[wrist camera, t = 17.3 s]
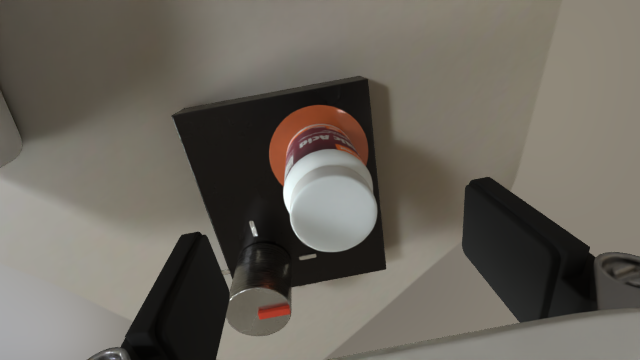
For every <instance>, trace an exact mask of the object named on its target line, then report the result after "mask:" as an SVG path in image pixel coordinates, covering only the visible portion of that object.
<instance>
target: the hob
mask: <svg viewBox="0 0 640 360" xmlns="http://www.w3.org/2000/svg"><path fill="white" fill-rule="evenodd" d="M310 105H329V106H333V107H337V108H339V109H341V110H344V111H345V112H347V113H348V114H350V115H351V116H352V117H353V118H354V119H355V120H356V121H357V122H358V123H359V124H360V126H361V127H362V129H363V131H364V133H365V136H366V139H367V143H368V159H367V164H366V168H367V169H368V171H369V173H370V175H371V178H372V183H373V195H374V197H375V200H376V203H377V219H376V223H375V225H374V227H373V229H372V231H371V232H370V234H369V235H368V236H367V237H366V238H365V239H364V240H363V241H362V242H361V243H359V244H358V245H356V246H354V247H352V248H350V249H347V250H344V251H339V252H324V251H319V250H316V249H313V248H311V247H309V246H307V245H306V244H304V243H303V242H302V241H301V240H300V239H299V238H298V237H297V235H296V234H295V232H294V230H293V228H292V225H291V221H290V213H289V212H288V210H287V208H286V205H285V202H284V197H283V186H282V184H281V183H280V182H279V181H278V180H277V178H276V177H275V175H274V173H273V171H272V168H271V165H270V159H269V149H270V143H271V139H272V136H273V134H274V132H275V130H276V128H277V127H278V125H279V124H280V123H281V122H282V121H283V120H284V119H285V118H286V117H287V116H288V115H290V114H291V113H293V112H294V111H296V110H298V109H300V108H303V107H306V106H310ZM172 119H173V121H174V124H175V127H176V129H177V132H178V135H179V137H180V140H181V143H182V145H183V148H184V151H185V153H186V156H187V159H188V161H189V164H190V167H191V169H192V172H193V175H194V177H195V180H196V183H197V186H198V188H199V191H200V194H201V196H202V199H203V202H204V204H205V207H206V210H207V212H208V215H209V218H210V220H211V223H212V226H213V228H214V231H215V234H216V236H217V239H218V242H219V244H220V247H221V250H222V252H223V255H224V258H225V260H226V263H227V266H228V268H229V269H228V270H222V271H221V272H222V274H223V275H226V274H231V276H232V279H233V277H234V273H235V269H236V265H237V261H238V258H239V256H240V254H241V253H242V252H243V251H244V250H245V249H246V248H248V247H249V246H251V245H254V244H258V243H271V244H275V245H277V246H280V247H281V248H283V249H284V250H285V251H286V252H287V253H288V255H289V256H290V259H291V263H292V280H291V287H296V286H301V285H306V284H312V283H317V282H322V281H327V280H333V279H338V278H343V277H348V276H354V275H359V274H364V273H369V272H374V271H380V270H385V269H386V261H385V251H384V241H383V230H382V220H381V210H380V199H379V189H378V179H377V168H376V158H375V148H374V137H373V127H372V117H371V106H370V96H369V86H368V79H366V78H364V77H361V76H356V77H351V78H345V79H340V80H335V81H329V82H324V83H318V84H313V85H308V86H302V87H297V88H292V89H286V90H281V91H275V92H270V93H265V94H259V95H254V96H248V97H243V98H238V99H232V100H227V101H221V102H216V103H211V104H205V105H200V106H195V107H189V108H184V109H182V110H181V111H179V112H177V113H175V114H173V115H172Z"/></svg>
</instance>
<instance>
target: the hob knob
mask: <svg viewBox="0 0 640 360" xmlns="http://www.w3.org/2000/svg"><path fill="white" fill-rule="evenodd" d="M291 280H292V263H291V259H290V256H289V255H288V253H287V252H286V251H285V250H284V249H283V248H281V247H280V246H277V245H275V244H271V243H258V244H254V245H251V246H249V247H248V248H246V249H245V250H244V251H243V252H242V253H241V254H240V256H239V258H238V261H237V265H236V269H235V273H234V277H233V281H232V285H231V288H230V292H229V293H230V300H229V305H228V309H227V313H226V319H227V321H228V323H229V324H230V325H231V326H232V327H233V328H234V329H235V330H237V331H238V332H241V333H243V334H246V335H251V336H265V335H270V334H273V333H275V332H277V331H279V330H281V329H282V328H283V327H284V326H285V325H286V324H287V323H288V321H289V319H290V317H291Z"/></svg>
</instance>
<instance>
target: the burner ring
mask: <svg viewBox="0 0 640 360" xmlns="http://www.w3.org/2000/svg"><path fill="white" fill-rule="evenodd" d="M315 124H327V125H331V126H334V127H337V128H338V129H340V130H341V131H343V132H344V133H345V134H346V135H347V137H348V138H349V140H350V141H351V143H352V144H353V146H354V148H355V149H356V151H357V152H358V154H359V156H360V157H361V159H362V161H363V163H364V164H365V166H366V164H367V159H368V143H367V139H366V136H365V133H364V131H363V129H362V127H361V126H360V124H359V123H358V122H357V121H356V120H355V119H354V118H353V117H352V116H351V115H350V114H348V113H347V112H345V111H344V110H341V109H339V108H337V107H333V106H329V105H310V106H306V107H303V108H300V109H298V110H296V111H294V112H293V113H291V114H290V115H288V116H287V117H286V118H285V119H284V120H283V121H282V122H281V123H280V124H279V125H278V127H277V128H276V130H275V132H274V134H273V136H272V139H271V143H270V149H269V159H270V165H271V168H272V171H273V173H274V175H275V177H276V178H277V180H278V181H279V182H280V183H281V184H282V186H284V179H285V165H286V154H287V149H288V146H289V144H290V142H291V140H292V139H293V137H294V136H295V135H296V134H297V133H298V132H299V131H300V130H302V129H304V128H305V127H308V126H310V125H315Z"/></svg>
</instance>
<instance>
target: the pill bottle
mask: <svg viewBox="0 0 640 360" xmlns="http://www.w3.org/2000/svg"><path fill="white" fill-rule="evenodd" d="M283 197H284V202H285V205H286V208H287V210H288V212H289V213H290V221H291V225H292V228H293V230H294V232H295V234H296V235H297V237H298V238H299V239H300V240H301V241H302V242H303V243H304V244H306V245H307V246H309V247H311V248H313V249H316V250H319V251H324V252H339V251H344V250H347V249H350V248H352V247H354V246H356V245H358V244H359V243H361V242H362V241H363V240H364V239H365V238H366V237H367V236H368V235H369V234H370V232H371V231H372V229H373V227H374V225H375V223H376V219H377V203H376V200H375V197H374V195H373V183H372V178H371V175H370V173H369V171H368V169H367V168H366V166H365V164H364V163H363V161H362V159H361V157H360V156H359V154H358V152H357V151H356V149H355V148H354V146H353V144H352V143H351V141H350V140H349V138H348V137H347V135H346V134H345V133H344V132H343V131H341V130H340V129H338V128H337V127H334V126H331V125H327V124H315V125H310V126H308V127H305V128H304V129H302V130H300V131H299V132H298V133H297V134H296V135H295V136H294V137H293V139H292V140H291V142H290V144H289V146H288V149H287V154H286V165H285V179H284V186H283Z"/></svg>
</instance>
